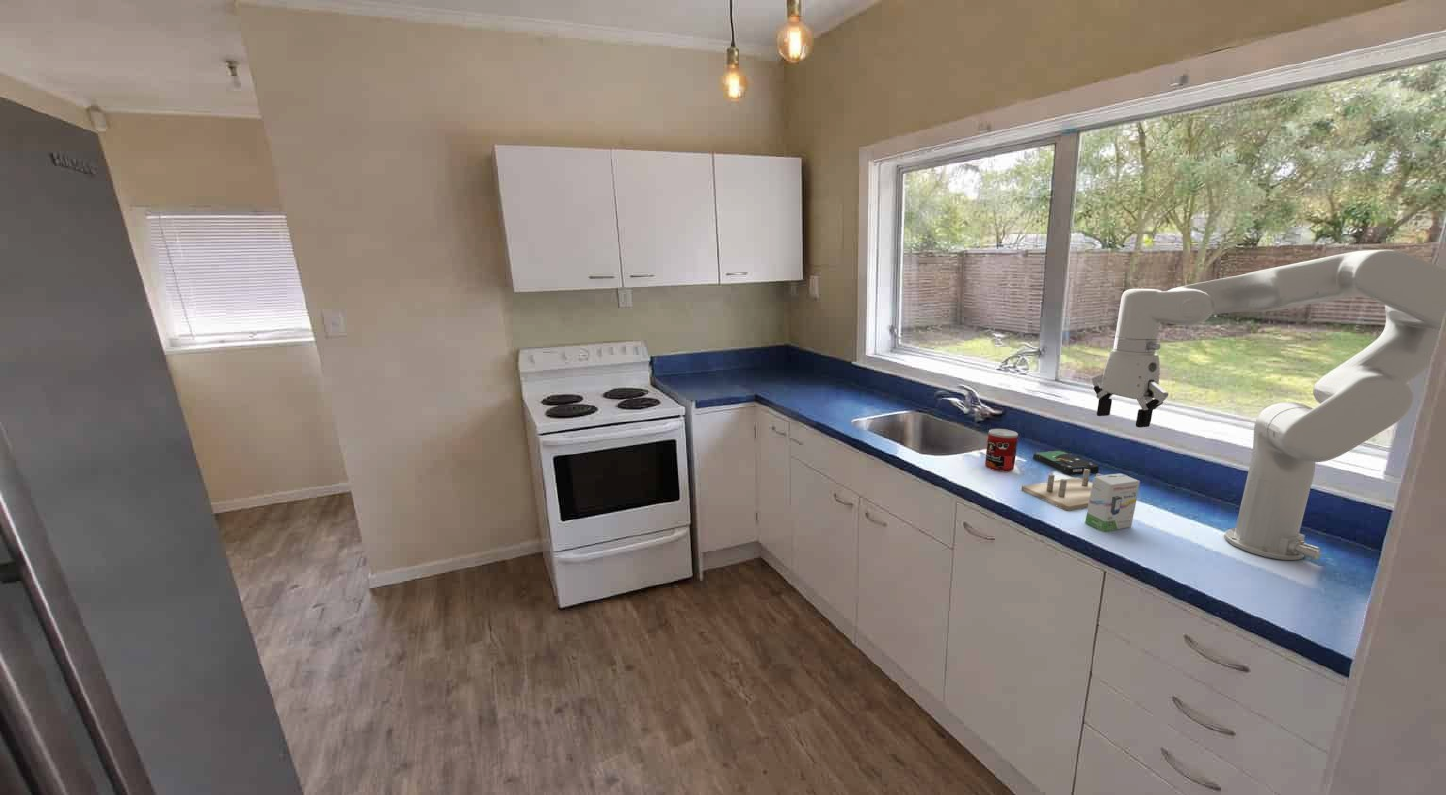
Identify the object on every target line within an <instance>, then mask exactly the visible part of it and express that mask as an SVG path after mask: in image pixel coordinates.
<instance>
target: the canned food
mask: <svg viewBox="0 0 1446 795" xmlns="http://www.w3.org/2000/svg"><path fill="white" fill-rule="evenodd" d="M1018 439H1019V433H1018V432H1016V431H1014V430H1010V429H1006V428H993V429H992V428H991V429H989V430H988V434H987V441H986V442H987V443H986V451H985V461H984V464H985V467H986V468H988V469H989V468H990V469H989V470H992V469H993V471H996V470H997V471H996V472H1010V471H1013V470H1014V468H1015V463H1016V456H1017V449H1018V448H1017V447H1018V441H1019V440H1018Z"/></svg>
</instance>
